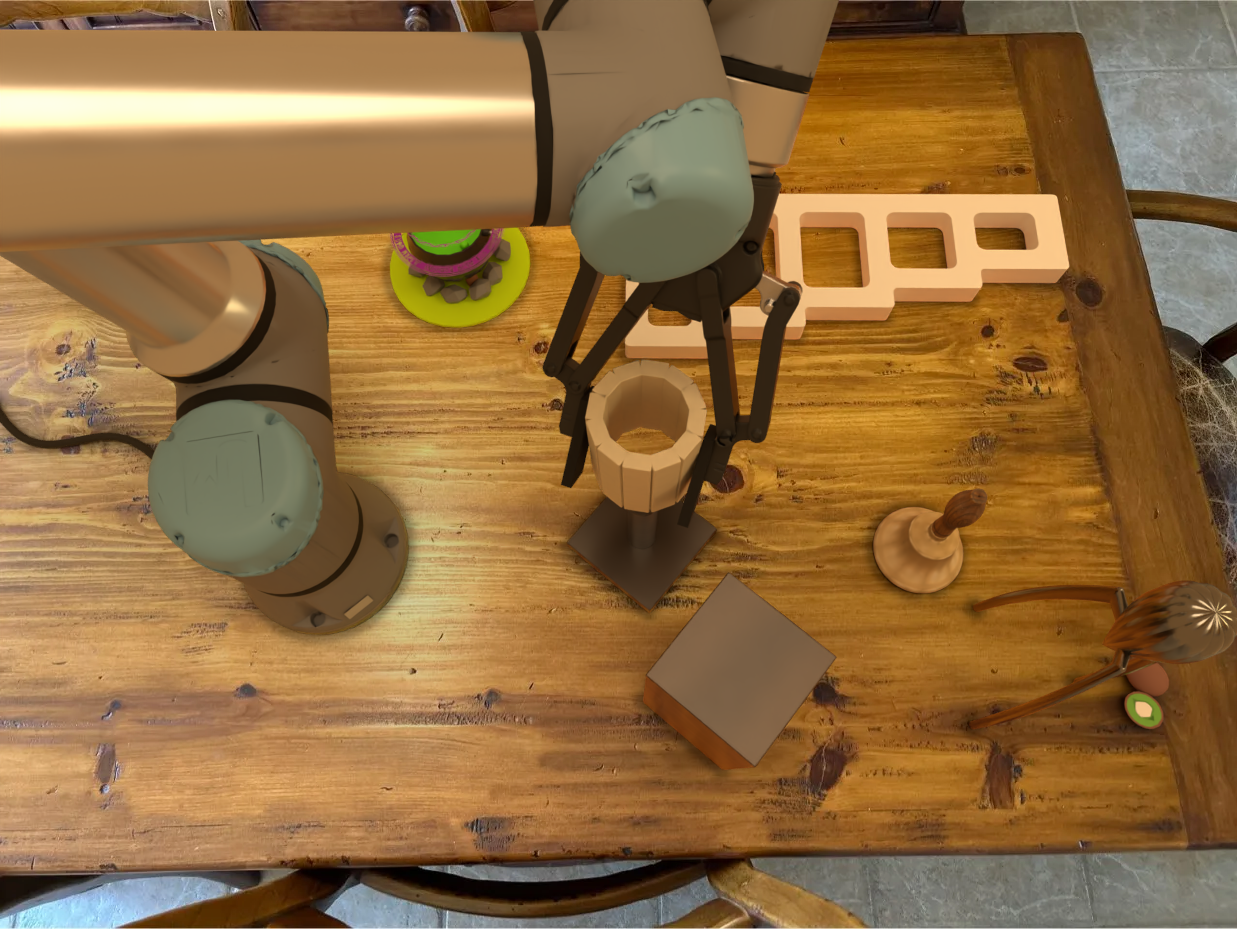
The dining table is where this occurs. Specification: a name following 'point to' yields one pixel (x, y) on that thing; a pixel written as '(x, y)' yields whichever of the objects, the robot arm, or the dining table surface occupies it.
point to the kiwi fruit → (1146, 695)
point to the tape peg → (640, 548)
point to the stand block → (735, 676)
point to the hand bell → (926, 542)
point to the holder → (884, 260)
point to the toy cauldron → (459, 274)
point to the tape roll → (655, 404)
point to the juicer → (1135, 632)
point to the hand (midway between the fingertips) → (628, 497)
